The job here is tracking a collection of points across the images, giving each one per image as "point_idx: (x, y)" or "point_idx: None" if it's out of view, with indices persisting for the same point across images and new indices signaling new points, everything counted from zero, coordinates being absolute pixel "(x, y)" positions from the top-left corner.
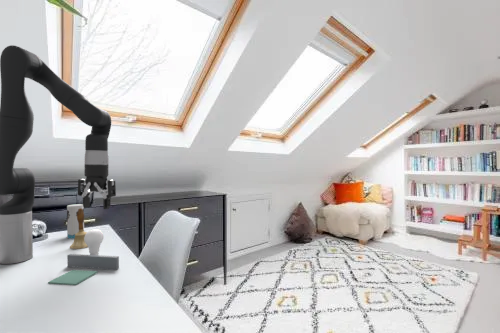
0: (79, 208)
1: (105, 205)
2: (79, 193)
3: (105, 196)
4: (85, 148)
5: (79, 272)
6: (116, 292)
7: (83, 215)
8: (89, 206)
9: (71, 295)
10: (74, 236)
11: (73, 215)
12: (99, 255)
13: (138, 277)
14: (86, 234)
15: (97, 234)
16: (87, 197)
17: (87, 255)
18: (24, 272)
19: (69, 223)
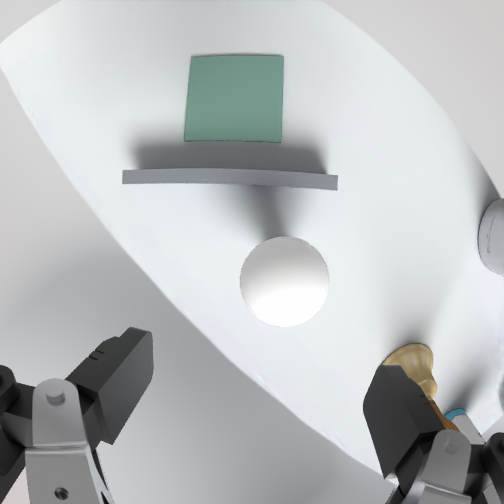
0: None
1: (116, 346)
2: (501, 451)
3: (47, 397)
4: None
5: (239, 123)
6: (83, 63)
7: None
8: (363, 405)
9: (168, 23)
10: (449, 416)
11: None
12: (198, 182)
13: (67, 138)
14: (308, 257)
15: (250, 269)
16: (402, 460)
17: (248, 176)
18: (421, 134)
19: (475, 435)
